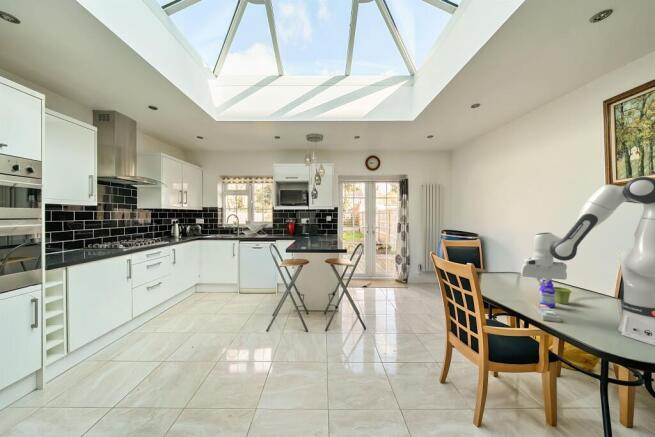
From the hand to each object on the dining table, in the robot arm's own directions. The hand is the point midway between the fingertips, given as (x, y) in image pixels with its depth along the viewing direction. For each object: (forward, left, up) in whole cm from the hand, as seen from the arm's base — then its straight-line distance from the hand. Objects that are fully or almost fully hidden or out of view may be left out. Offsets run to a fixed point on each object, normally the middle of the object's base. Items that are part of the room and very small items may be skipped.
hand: (542, 285), depth 147 cm
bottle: (+8, -11, -15) cm, 21 cm away
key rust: (0, 0, -13) cm, 13 cm away
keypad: (-4, +3, -15) cm, 16 cm away
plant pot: (+12, -25, -15) cm, 32 cm away
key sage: (-9, +5, -13) cm, 16 cm away
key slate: (-4, +2, -13) cm, 14 cm away
